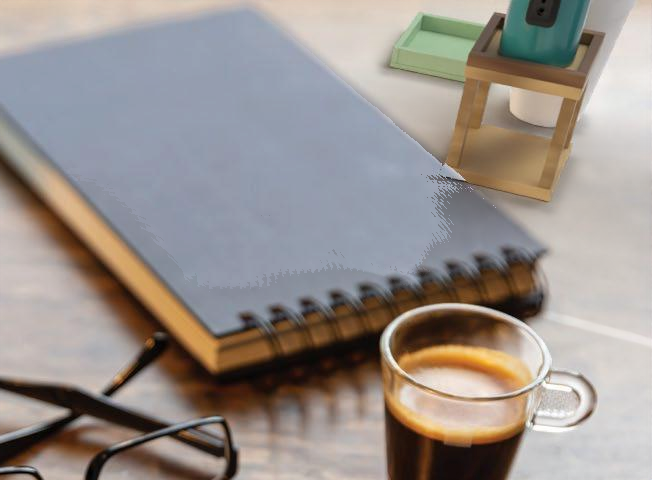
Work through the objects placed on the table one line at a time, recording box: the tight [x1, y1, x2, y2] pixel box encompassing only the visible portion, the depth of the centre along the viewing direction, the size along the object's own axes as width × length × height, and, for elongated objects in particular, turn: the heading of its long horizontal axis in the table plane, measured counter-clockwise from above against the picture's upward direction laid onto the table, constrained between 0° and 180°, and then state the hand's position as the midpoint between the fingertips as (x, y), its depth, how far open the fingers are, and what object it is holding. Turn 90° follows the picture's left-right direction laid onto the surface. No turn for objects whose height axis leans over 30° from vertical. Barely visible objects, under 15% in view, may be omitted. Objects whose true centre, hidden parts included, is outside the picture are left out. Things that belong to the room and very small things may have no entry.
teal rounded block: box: [498, 0, 592, 68], centre depth 103 cm, size 6×6×8 cm
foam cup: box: [508, 0, 638, 128], centre depth 115 cm, size 10×9×13 cm
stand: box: [444, 11, 606, 202], centre depth 109 cm, size 9×9×11 cm
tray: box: [389, 11, 487, 83], centre depth 127 cm, size 9×9×2 cm
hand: (548, 8), depth 103 cm, fingers closed on teal rounded block, 6 cm apart
